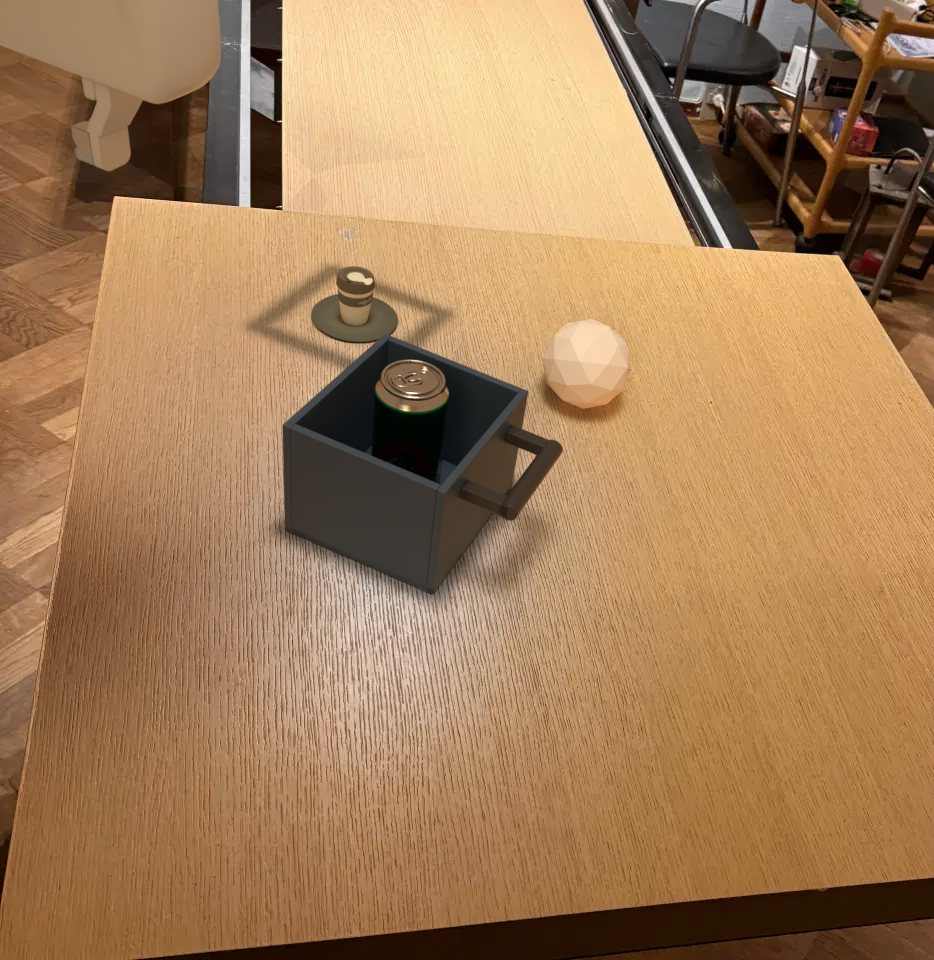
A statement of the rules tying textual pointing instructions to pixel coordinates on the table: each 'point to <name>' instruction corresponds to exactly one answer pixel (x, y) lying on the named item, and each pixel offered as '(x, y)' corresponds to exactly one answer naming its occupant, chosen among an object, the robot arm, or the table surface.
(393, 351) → the handled storage box
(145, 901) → the table surface
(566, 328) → the geometric ball
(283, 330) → the table surface
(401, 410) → the soda can
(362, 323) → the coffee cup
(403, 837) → the table surface
